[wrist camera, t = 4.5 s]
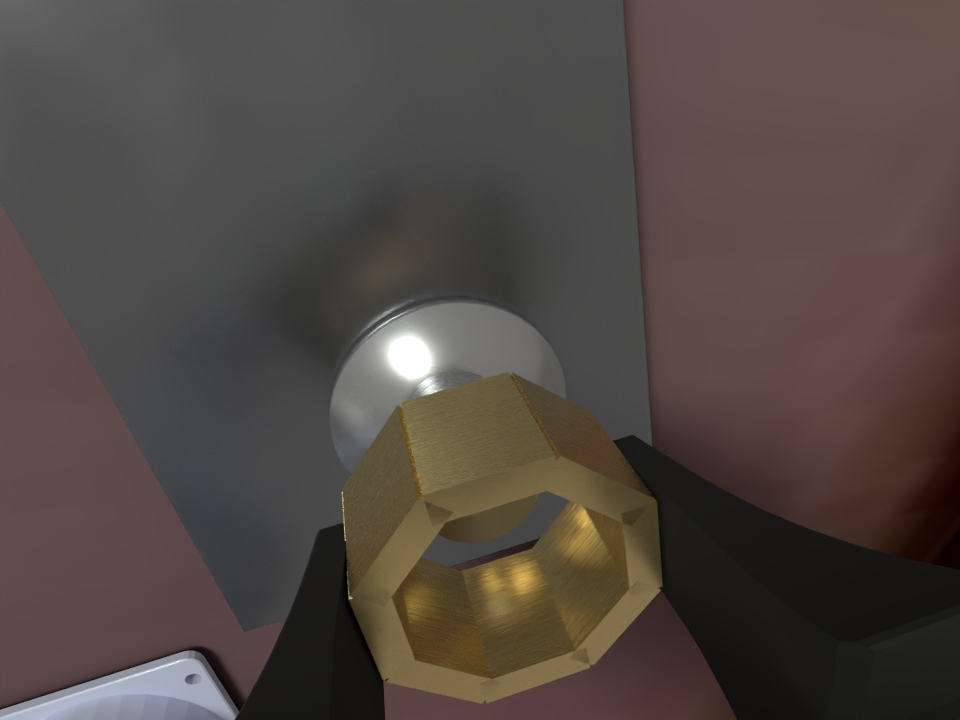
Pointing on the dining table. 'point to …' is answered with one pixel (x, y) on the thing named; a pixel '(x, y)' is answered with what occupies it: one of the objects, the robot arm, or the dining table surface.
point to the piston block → (325, 238)
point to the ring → (510, 580)
